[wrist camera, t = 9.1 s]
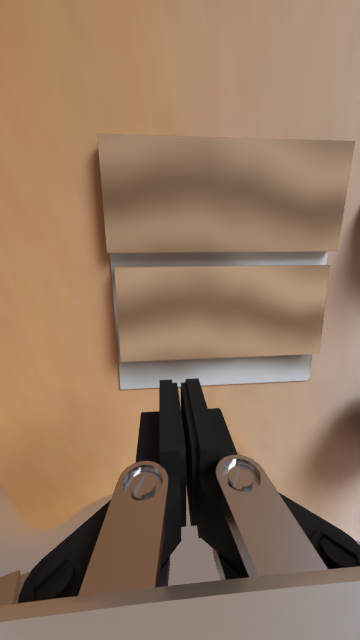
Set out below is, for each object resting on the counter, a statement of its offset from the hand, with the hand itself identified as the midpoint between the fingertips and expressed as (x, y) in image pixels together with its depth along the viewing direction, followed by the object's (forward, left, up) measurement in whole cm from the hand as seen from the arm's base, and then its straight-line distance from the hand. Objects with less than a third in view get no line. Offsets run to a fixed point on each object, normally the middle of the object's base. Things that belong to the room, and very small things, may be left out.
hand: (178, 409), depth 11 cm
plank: (+1, -5, -12) cm, 13 cm away
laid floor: (+4, -5, -13) cm, 14 cm away
